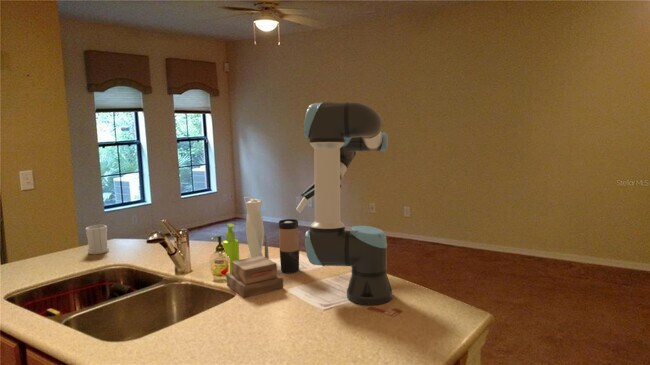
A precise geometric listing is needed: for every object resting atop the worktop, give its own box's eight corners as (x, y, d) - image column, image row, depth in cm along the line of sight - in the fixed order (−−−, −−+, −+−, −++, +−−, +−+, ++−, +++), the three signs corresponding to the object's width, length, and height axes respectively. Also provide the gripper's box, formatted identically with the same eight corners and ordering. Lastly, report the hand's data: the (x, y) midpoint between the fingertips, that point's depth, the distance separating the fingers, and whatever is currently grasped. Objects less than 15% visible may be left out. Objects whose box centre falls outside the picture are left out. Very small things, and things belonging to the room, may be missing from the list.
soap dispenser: (227, 277, 178) (225, 226, 175) (223, 272, 184) (220, 223, 181) (242, 275, 181) (240, 224, 178) (237, 270, 187) (235, 221, 184)
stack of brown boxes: (283, 288, 166) (282, 263, 165) (244, 297, 158) (242, 272, 156) (264, 276, 178) (263, 253, 177) (227, 285, 170) (225, 261, 169)
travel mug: (301, 267, 188) (299, 218, 186) (298, 273, 181) (296, 223, 178) (282, 267, 189) (280, 219, 186) (278, 273, 182) (276, 223, 179)
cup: (80, 254, 215) (77, 228, 213) (93, 248, 224) (91, 224, 222) (101, 254, 213) (98, 229, 211) (113, 249, 222) (111, 224, 220)
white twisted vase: (251, 264, 193) (247, 198, 189) (244, 260, 200) (240, 195, 196) (269, 261, 197) (267, 196, 194) (262, 256, 204) (259, 193, 201)
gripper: (360, 181, 191) (335, 223, 183) (319, 176, 209) (294, 214, 201) (351, 169, 187) (325, 212, 179) (309, 165, 205) (284, 204, 197)
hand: (308, 213), depth 190 cm, fingers open, 13 cm apart
